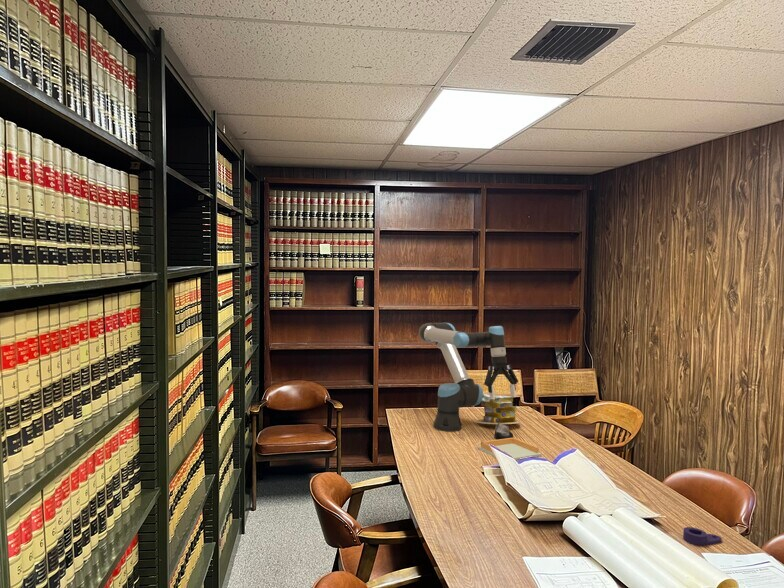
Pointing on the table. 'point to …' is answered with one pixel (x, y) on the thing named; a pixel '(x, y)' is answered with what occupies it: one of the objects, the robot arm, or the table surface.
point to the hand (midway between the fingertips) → (503, 398)
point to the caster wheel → (502, 432)
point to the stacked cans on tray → (498, 410)
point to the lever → (699, 537)
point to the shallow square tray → (511, 447)
